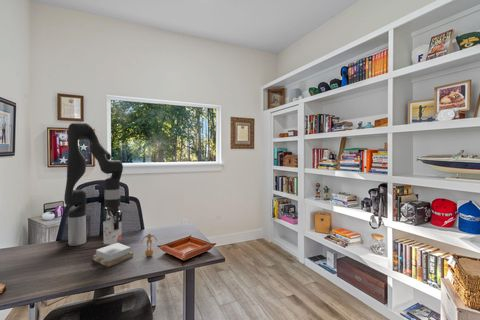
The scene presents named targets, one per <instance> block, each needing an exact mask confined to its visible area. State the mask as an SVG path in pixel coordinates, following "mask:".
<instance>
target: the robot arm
mask: <svg viewBox="0 0 480 320" xmlns="http://www.w3.org/2000/svg"><path fill="white" fill-rule="evenodd" d="M83 140H88V141H89V142H90V147H89V148H90V153H91V155H92V156H93V157H94V158H95V160H96V161H97V163H98V165H99V168H100V171H101V172H102V173H104V174H107V175H109V174H110V175H111V176H110V177H107V178H106V179H104V194H103V195H104V202H103V203H104V207H103V209H102V211H103V219H104V220H105V221H107V220H110V217H111V216H113V219H114V230H118V229H119V222H121V221H122V220H123V211H122V210H119V207H120V206H121V190H120V188H121V187H120V186H121V185H120V181H121V178H122V174H123V171H124V165H123V163H122V161H121V160H119V159H112V156H111V153H110V152H109V151H108V150H107V148H106V147H104V145H103V144H102V143H101V140H100V139H99V137H98V135H97V133H96V131H95V129H94V128H93V127H92V126H91V124H89V123H86V122H83V123H82V122H72V123H70V124H69V125H68V129H67V144H68V145H67V146H68V150H67V151H68V153H67V164H66V183H65V191H64V204H65V206H68V207H71V206H77V207H75V208H74V209H71V210H69V211H68V212H67V231H68V233H67V235H68V237H67V238H68V239H67V240H68V242H67V243H68V245H69V246H70V247H71V246H72V247H73V246H82V245H83V244H85V243H86V242H87V216H86V215H87V213H86V212H87V192H86V190H85V189H81V188H80V189H74V188H75V185H77V183H78V181H79V180H81V178H82V177H83V176H84V174H86V171H87V160H86V158H85V156H84V155H83V153H82V152H81V150H80V148H79V141H83ZM114 216H116V217H114ZM119 218H120V220H119ZM122 222H123V221H122Z"/></svg>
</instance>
